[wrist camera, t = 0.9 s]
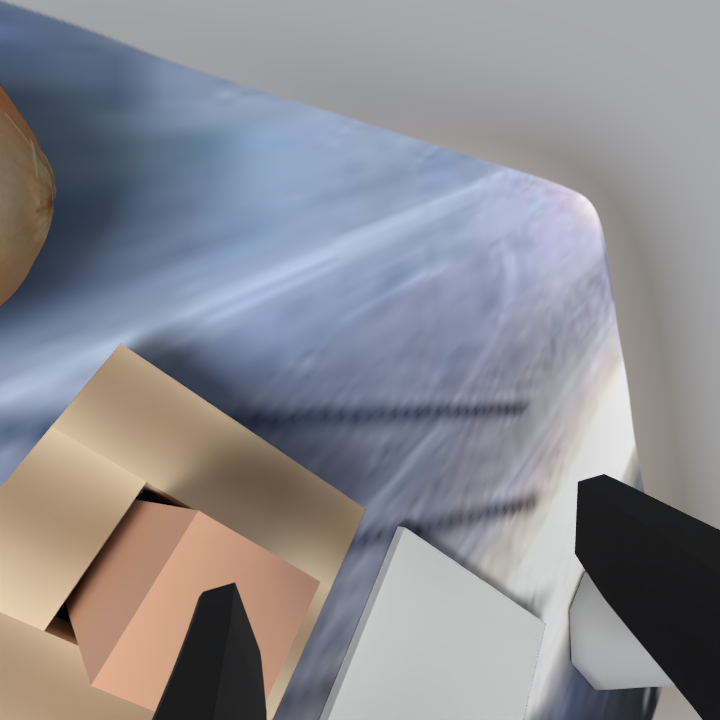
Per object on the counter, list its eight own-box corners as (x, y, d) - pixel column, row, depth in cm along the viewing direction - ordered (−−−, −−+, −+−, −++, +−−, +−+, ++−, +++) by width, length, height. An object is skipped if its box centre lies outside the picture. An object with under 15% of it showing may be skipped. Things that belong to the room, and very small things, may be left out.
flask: (574, 553, 33) (750, 576, 25) (634, 588, 36) (810, 620, 28) (556, 673, 30) (750, 744, 22) (623, 702, 33) (818, 774, 25)
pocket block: (190, 800, 19) (214, 848, 16) (-158, 681, 15) (-195, 721, 12) (332, 506, 24) (366, 508, 22) (109, 360, 20) (120, 343, 18)
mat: (476, 870, 25) (485, 878, 24) (286, 799, 21) (292, 807, 20) (537, 621, 30) (545, 623, 30) (397, 526, 26) (404, 527, 26)
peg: (161, 645, 19) (244, 748, 12) (64, 601, 18) (90, 685, 11) (218, 546, 21) (320, 581, 14) (134, 499, 20) (198, 510, 12)
